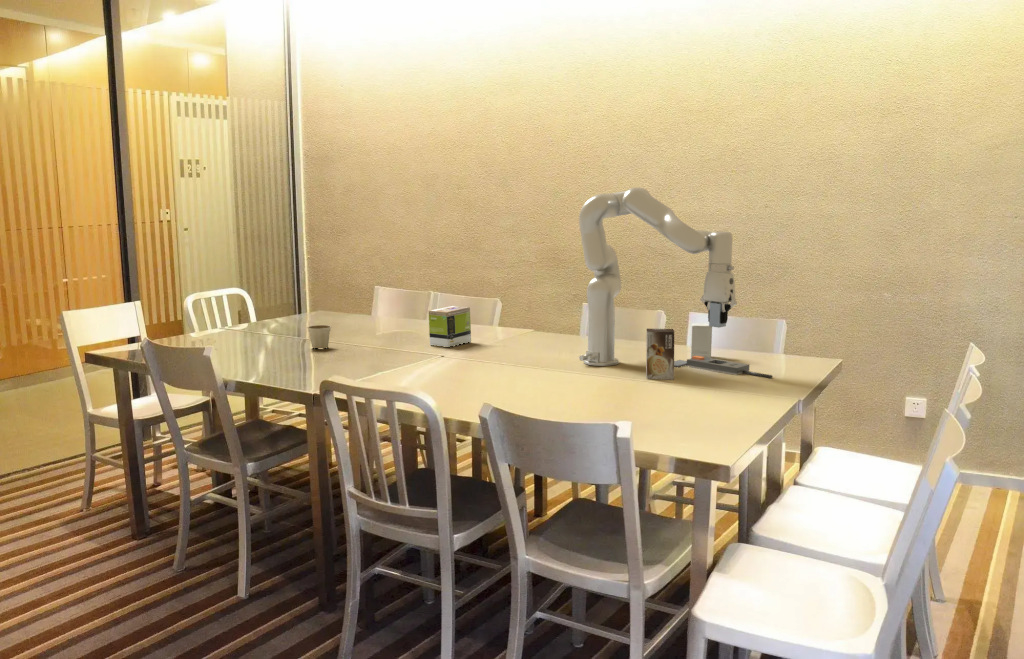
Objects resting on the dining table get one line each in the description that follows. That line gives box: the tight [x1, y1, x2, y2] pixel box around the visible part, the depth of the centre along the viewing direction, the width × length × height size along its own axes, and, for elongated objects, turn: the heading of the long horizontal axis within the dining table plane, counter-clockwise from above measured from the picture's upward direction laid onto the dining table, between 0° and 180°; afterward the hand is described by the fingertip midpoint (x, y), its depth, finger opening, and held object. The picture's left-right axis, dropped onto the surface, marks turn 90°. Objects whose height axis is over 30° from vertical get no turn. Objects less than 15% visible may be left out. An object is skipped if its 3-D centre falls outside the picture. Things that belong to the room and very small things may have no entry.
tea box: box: [428, 305, 472, 348], centre depth 341 cm, size 15×10×15 cm
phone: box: [674, 359, 687, 368], centre depth 301 cm, size 10×6×1 cm, turn 135°
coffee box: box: [645, 328, 675, 380], centre depth 279 cm, size 9×6×16 cm
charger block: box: [708, 302, 727, 329], centre depth 286 cm, size 4×4×8 cm
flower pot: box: [306, 324, 332, 349], centre depth 334 cm, size 9×9×9 cm
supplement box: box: [690, 322, 713, 359], centre depth 311 cm, size 7×7×13 cm
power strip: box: [686, 356, 773, 379], centre depth 289 cm, size 8×31×3 cm, turn 43°
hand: (717, 321), depth 287 cm, fingers closed on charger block, 4 cm apart
